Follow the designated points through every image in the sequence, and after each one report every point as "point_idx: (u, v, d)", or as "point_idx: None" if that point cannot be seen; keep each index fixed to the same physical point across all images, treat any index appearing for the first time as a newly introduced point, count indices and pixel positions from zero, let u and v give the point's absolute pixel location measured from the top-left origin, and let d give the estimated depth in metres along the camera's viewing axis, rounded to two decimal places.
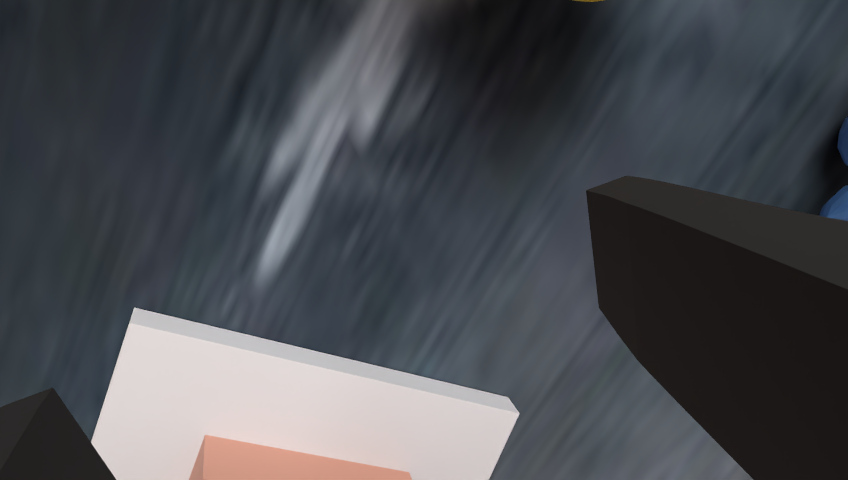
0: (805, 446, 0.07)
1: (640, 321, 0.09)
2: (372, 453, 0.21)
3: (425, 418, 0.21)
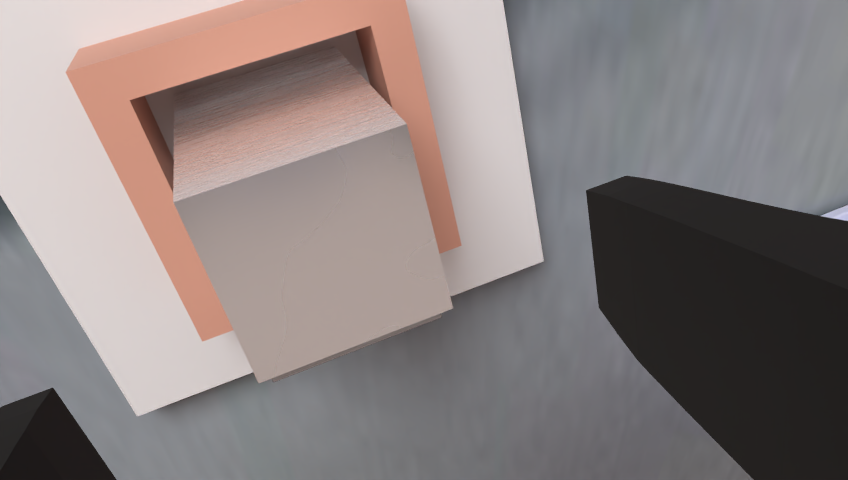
0: (805, 446, 0.07)
1: (640, 321, 0.09)
2: None
3: None
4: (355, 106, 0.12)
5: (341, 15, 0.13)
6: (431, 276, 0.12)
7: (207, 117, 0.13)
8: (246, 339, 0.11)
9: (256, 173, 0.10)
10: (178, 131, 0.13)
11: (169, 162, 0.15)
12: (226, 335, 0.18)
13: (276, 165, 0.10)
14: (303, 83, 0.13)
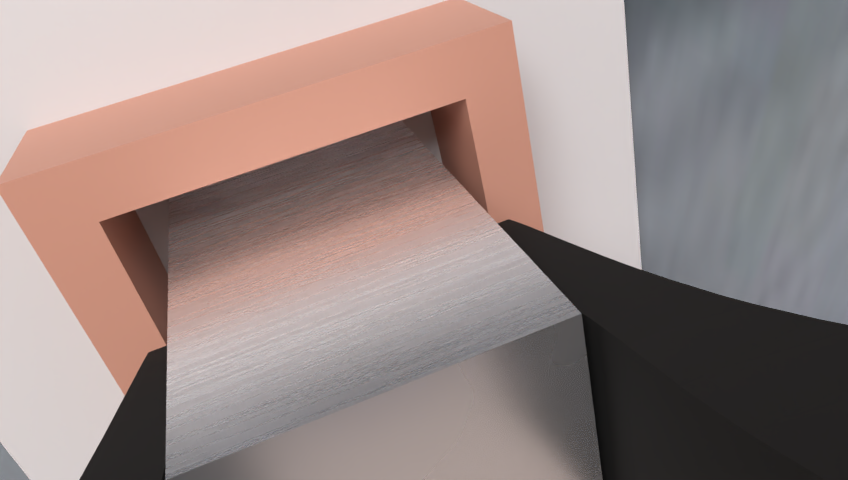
0: None
1: None
2: None
3: None
4: (467, 253, 0.07)
5: (423, 85, 0.09)
6: None
7: (219, 248, 0.08)
8: None
9: (317, 418, 0.06)
10: (175, 274, 0.08)
11: (162, 287, 0.10)
12: None
13: (351, 396, 0.06)
14: (365, 189, 0.09)
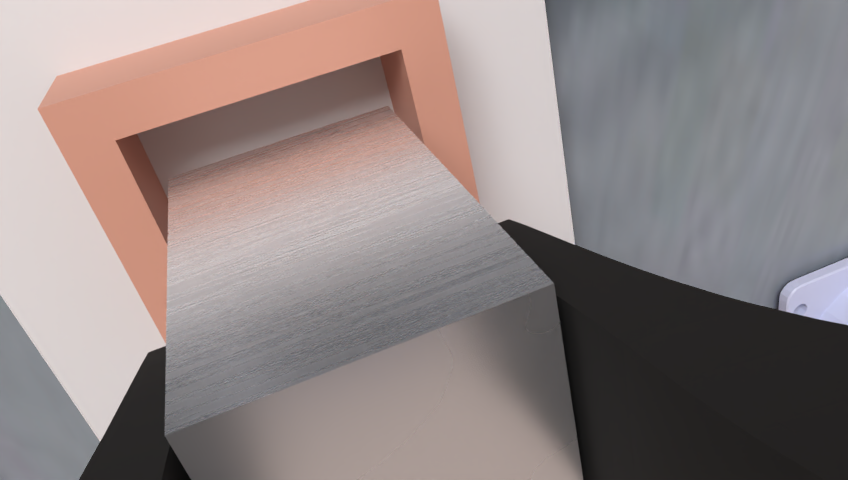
0: None
1: None
2: None
3: None
4: (449, 232, 0.07)
5: (367, 37, 0.11)
6: None
7: (216, 229, 0.09)
8: None
9: (306, 379, 0.06)
10: (174, 253, 0.08)
11: (163, 206, 0.13)
12: None
13: (339, 359, 0.06)
14: (356, 174, 0.09)
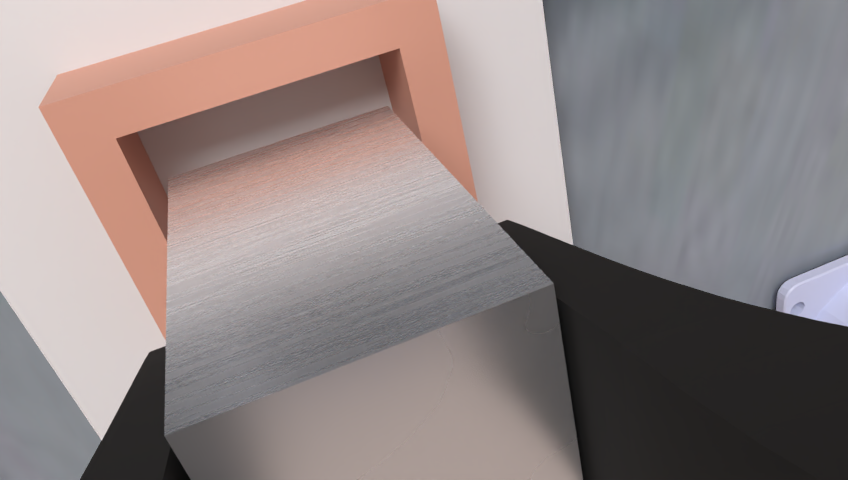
0: None
1: None
2: None
3: None
4: (449, 231, 0.07)
5: (365, 36, 0.11)
6: None
7: (216, 229, 0.09)
8: None
9: (306, 379, 0.06)
10: (173, 253, 0.08)
11: (163, 204, 0.13)
12: None
13: (338, 359, 0.06)
14: (356, 174, 0.09)
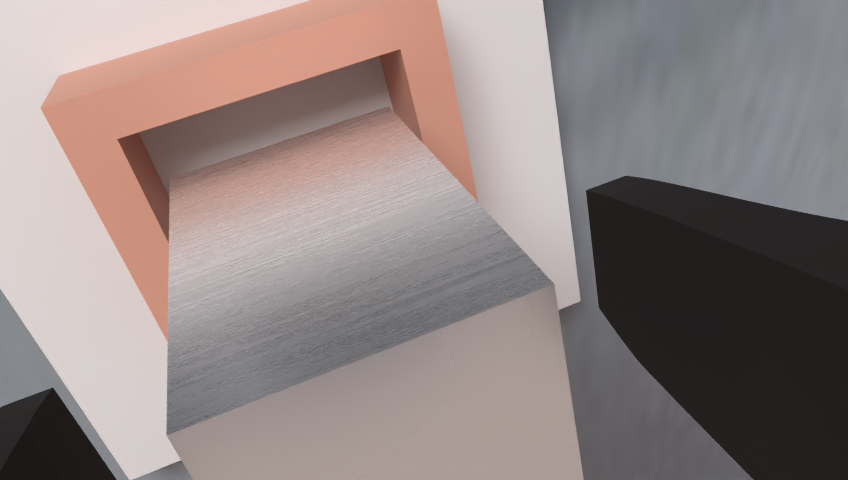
0: (805, 446, 0.07)
1: (640, 321, 0.09)
2: None
3: None
4: (450, 232, 0.07)
5: (366, 37, 0.11)
6: None
7: (217, 230, 0.09)
8: None
9: (306, 379, 0.06)
10: (175, 253, 0.08)
11: (165, 204, 0.13)
12: None
13: (339, 359, 0.06)
14: (357, 175, 0.09)
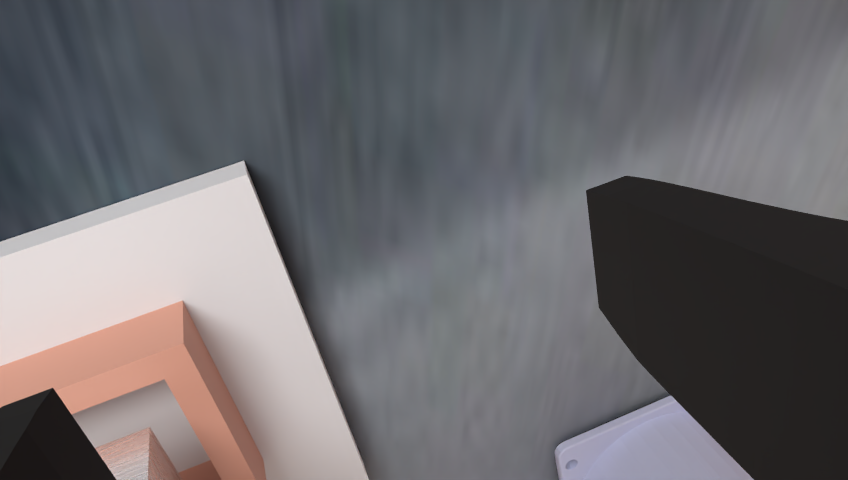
0: (805, 446, 0.07)
1: (640, 321, 0.09)
2: (123, 307, 0.18)
3: (143, 243, 0.17)
4: None
5: (137, 376, 0.17)
6: None
7: None
8: None
9: None
10: None
11: None
12: None
13: None
14: None
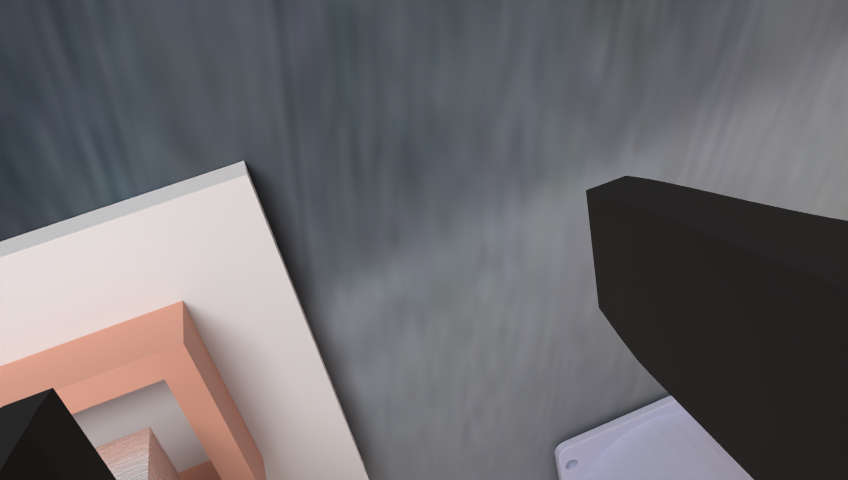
0: (805, 446, 0.07)
1: (640, 321, 0.09)
2: (123, 307, 0.18)
3: (143, 243, 0.17)
4: None
5: (137, 376, 0.17)
6: None
7: None
8: None
9: None
10: None
11: None
12: None
13: None
14: None
